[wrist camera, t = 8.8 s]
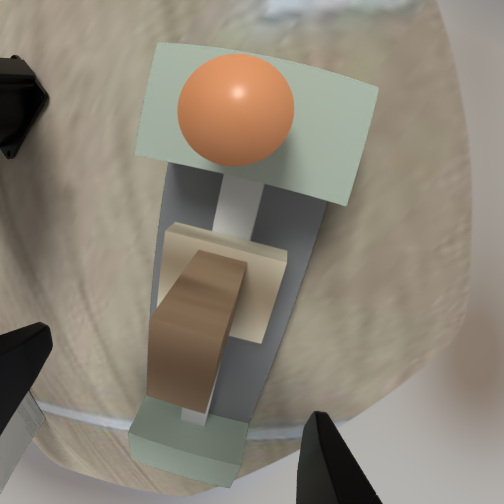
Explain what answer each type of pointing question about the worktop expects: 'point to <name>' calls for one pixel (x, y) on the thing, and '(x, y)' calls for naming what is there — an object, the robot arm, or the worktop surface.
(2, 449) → the skincare box
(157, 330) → the carriage
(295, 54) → the worktop surface
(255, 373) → the rail bench
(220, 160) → the orange knob
